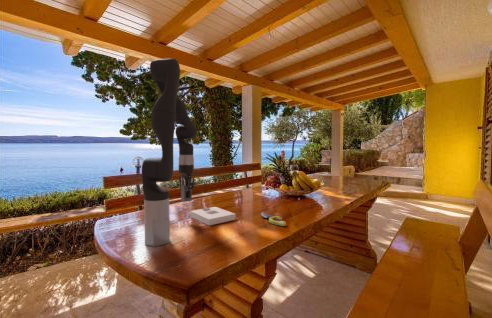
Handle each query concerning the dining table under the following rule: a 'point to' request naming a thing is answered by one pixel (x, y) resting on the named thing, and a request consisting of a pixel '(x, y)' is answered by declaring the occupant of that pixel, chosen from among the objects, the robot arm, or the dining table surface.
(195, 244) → the dining table surface
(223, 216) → the socket plate
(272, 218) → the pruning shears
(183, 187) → the gray knobbed square peg
